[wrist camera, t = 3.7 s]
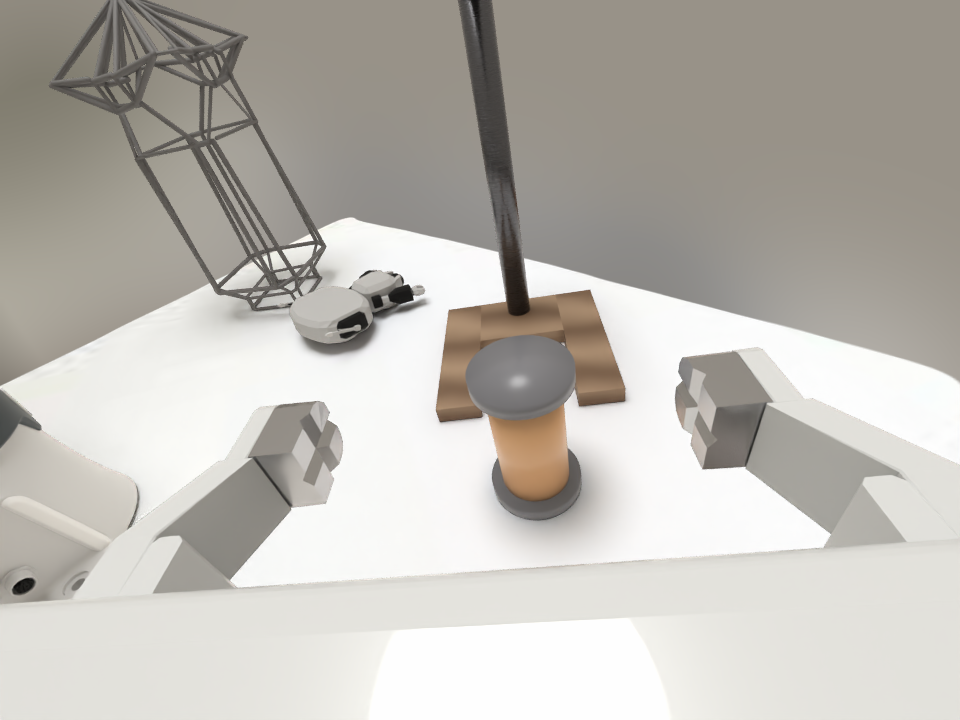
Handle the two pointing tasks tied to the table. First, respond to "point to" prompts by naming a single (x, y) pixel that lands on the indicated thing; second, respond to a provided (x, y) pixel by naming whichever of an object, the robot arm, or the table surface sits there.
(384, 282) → the robot toy
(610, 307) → the table surface
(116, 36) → the geometric lantern
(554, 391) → the cord spool
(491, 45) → the hook stand
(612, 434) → the table surface
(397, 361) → the table surface
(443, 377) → the notched board
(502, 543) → the table surface
